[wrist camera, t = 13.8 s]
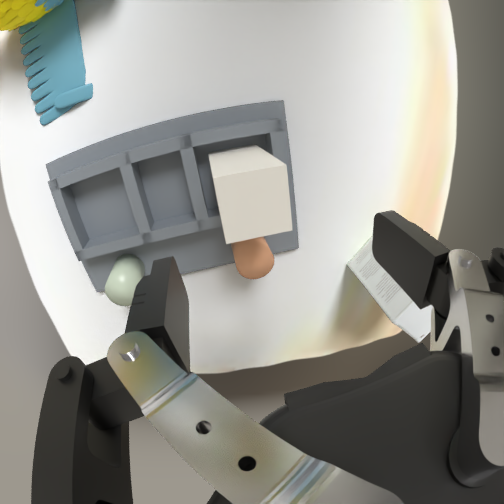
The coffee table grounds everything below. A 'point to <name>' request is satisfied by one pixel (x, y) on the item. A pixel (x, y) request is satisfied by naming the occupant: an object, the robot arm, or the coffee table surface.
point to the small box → (390, 294)
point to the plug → (251, 192)
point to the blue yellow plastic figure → (50, 52)
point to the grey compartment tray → (165, 198)
